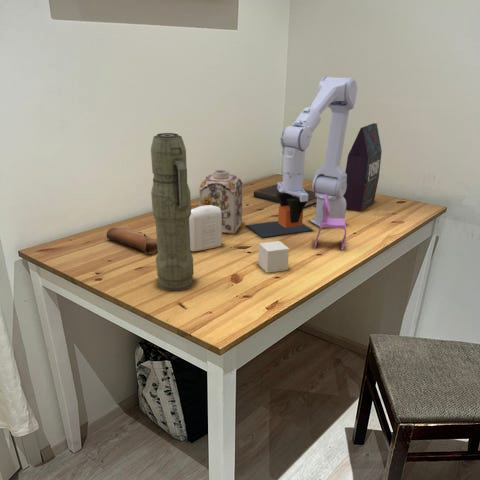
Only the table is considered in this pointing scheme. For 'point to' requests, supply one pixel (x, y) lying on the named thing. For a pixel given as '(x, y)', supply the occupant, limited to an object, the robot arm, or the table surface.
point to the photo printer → (205, 227)
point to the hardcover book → (271, 192)
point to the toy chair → (330, 221)
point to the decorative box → (363, 169)
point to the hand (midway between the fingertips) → (290, 219)
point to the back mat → (276, 229)
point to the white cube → (273, 256)
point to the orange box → (287, 217)
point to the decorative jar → (223, 198)
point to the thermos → (171, 212)
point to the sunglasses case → (133, 239)
